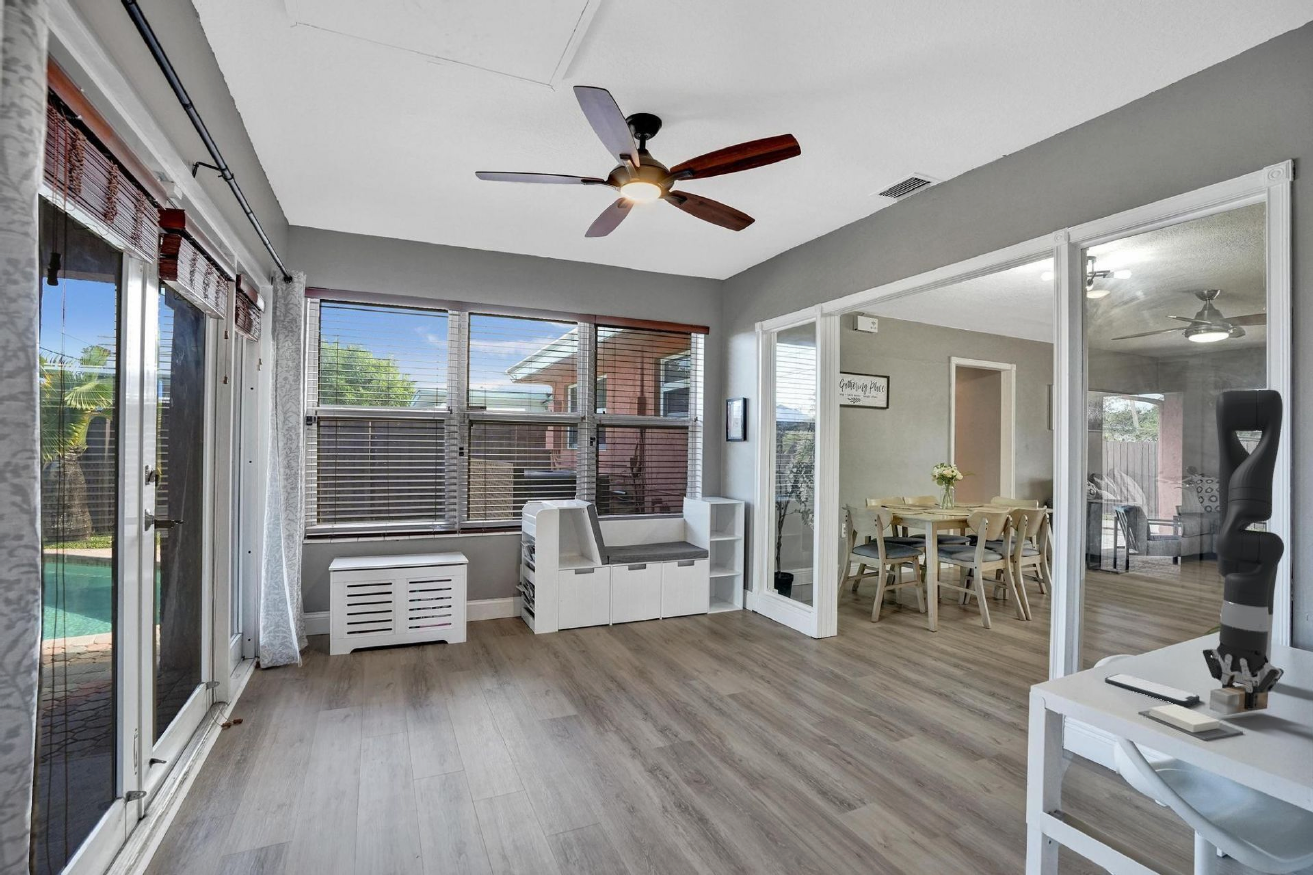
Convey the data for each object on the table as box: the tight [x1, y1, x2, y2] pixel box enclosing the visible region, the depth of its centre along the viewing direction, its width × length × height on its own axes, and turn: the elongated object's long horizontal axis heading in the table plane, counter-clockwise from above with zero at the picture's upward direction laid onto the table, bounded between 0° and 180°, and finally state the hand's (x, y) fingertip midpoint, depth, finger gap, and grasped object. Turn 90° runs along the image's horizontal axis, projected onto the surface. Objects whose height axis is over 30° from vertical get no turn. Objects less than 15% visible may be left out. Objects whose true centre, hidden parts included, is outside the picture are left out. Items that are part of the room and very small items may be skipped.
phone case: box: [1104, 673, 1201, 708], centre depth 150 cm, size 9×2×16 cm
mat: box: [1138, 709, 1244, 742], centre depth 132 cm, size 12×12×1 cm
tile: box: [1149, 704, 1220, 733], centre depth 132 cm, size 2×8×8 cm
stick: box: [1208, 684, 1269, 716], centre depth 138 cm, size 14×3×4 cm, turn 111°
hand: (1238, 705), depth 138 cm, fingers closed on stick, 3 cm apart
